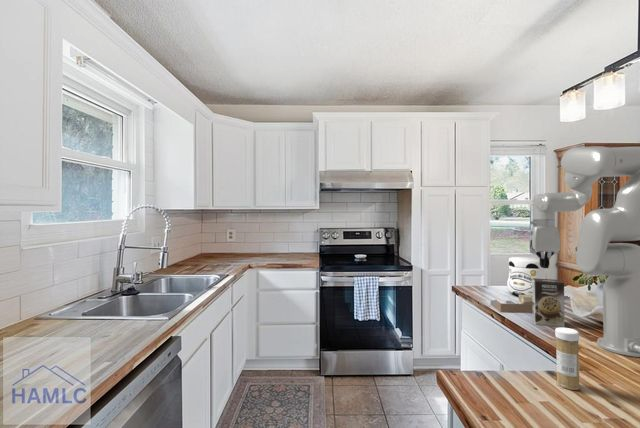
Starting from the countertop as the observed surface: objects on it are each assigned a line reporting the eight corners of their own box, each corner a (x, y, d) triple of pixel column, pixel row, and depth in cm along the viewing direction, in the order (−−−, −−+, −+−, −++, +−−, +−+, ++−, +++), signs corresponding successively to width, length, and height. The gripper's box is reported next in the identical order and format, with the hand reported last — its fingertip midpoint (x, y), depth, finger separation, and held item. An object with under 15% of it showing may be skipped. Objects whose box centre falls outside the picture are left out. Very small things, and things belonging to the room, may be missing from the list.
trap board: (539, 312, 135) (539, 304, 135) (500, 312, 137) (500, 303, 137) (526, 305, 146) (526, 297, 146) (490, 304, 148) (490, 297, 148)
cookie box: (535, 324, 122) (534, 280, 121) (532, 319, 127) (531, 277, 127) (565, 327, 118) (564, 282, 118) (560, 322, 124) (560, 279, 124)
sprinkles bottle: (582, 386, 79) (581, 330, 79) (575, 393, 76) (574, 334, 76) (560, 379, 83) (559, 325, 83) (553, 384, 80) (552, 329, 80)
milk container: (510, 298, 158) (510, 260, 157) (504, 290, 174) (503, 256, 174) (553, 301, 152) (553, 262, 151) (543, 292, 168) (542, 257, 168)
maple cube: (533, 306, 137) (533, 297, 137) (523, 306, 137) (523, 297, 137) (529, 304, 141) (528, 294, 141) (518, 304, 141) (518, 294, 141)
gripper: (529, 224, 135) (529, 269, 136) (569, 223, 133) (569, 269, 134) (520, 223, 143) (521, 266, 143) (558, 223, 141) (558, 266, 141)
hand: (544, 267), depth 138 cm, fingers closed
